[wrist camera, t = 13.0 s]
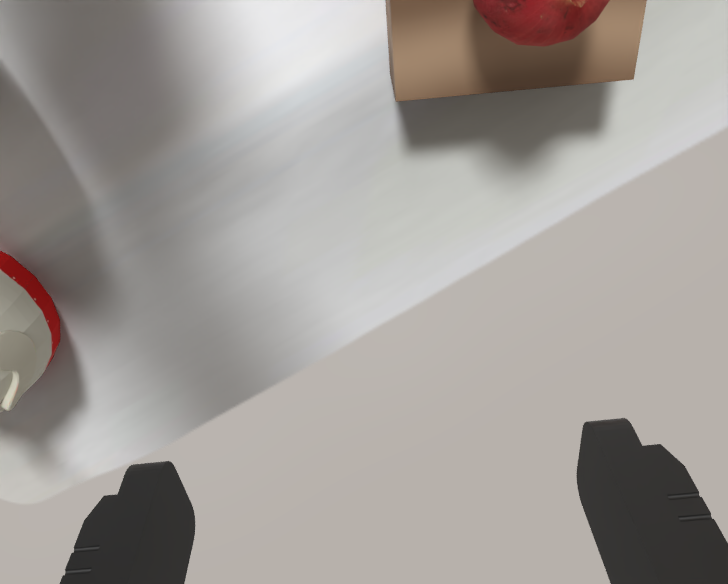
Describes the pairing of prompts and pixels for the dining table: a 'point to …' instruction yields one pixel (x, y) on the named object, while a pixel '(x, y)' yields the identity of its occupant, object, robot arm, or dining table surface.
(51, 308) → the kitchen timer
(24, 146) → the dining table surface
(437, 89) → the walnut base
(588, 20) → the onion
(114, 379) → the dining table surface
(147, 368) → the dining table surface
